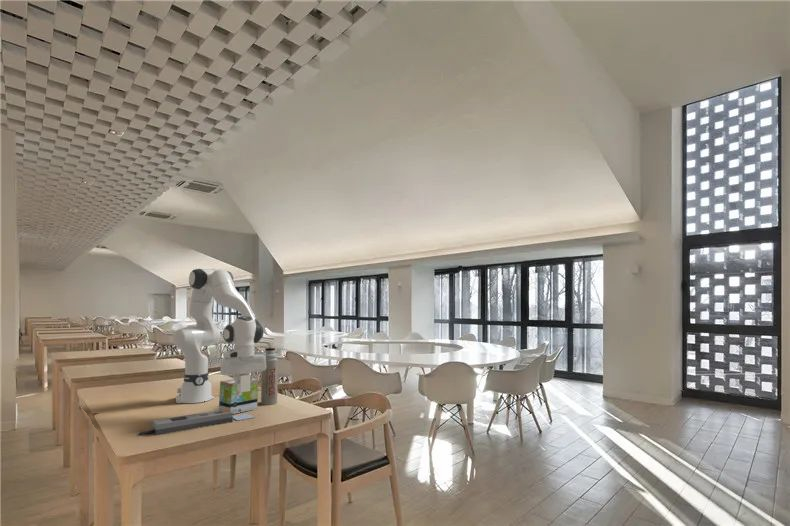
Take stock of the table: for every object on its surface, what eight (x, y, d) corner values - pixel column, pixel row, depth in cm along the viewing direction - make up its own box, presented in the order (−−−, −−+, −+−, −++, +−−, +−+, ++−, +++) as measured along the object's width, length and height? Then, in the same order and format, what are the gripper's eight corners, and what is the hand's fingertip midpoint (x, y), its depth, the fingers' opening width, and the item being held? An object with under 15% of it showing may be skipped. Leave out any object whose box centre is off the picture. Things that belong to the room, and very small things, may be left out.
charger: (237, 390, 206) (237, 374, 206) (246, 389, 208) (246, 373, 209) (240, 392, 202) (240, 376, 203) (250, 391, 205) (250, 375, 206)
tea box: (230, 415, 208) (231, 383, 209) (218, 412, 214) (219, 380, 216) (258, 409, 220) (258, 378, 221) (245, 406, 226) (246, 376, 227)
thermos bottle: (277, 404, 230) (278, 348, 233) (260, 405, 228) (262, 349, 230) (277, 400, 238) (277, 347, 240) (261, 401, 236) (262, 347, 238)
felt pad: (230, 417, 205) (230, 416, 205) (248, 414, 210) (248, 413, 210) (237, 421, 199) (237, 420, 199) (254, 418, 204) (254, 417, 204)
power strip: (136, 432, 182) (137, 420, 182) (226, 418, 204) (226, 407, 204) (140, 437, 176) (140, 425, 176) (232, 421, 198) (232, 410, 198)
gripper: (263, 349, 216) (262, 379, 215) (219, 353, 203) (218, 384, 202) (268, 351, 211) (268, 381, 210) (224, 354, 198) (223, 386, 197)
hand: (243, 382), depth 206 cm, fingers closed on charger, 4 cm apart
